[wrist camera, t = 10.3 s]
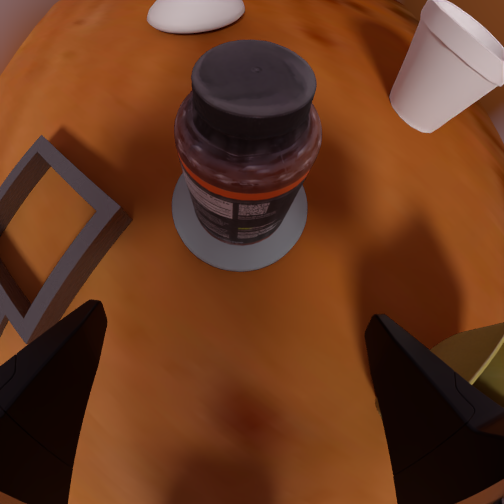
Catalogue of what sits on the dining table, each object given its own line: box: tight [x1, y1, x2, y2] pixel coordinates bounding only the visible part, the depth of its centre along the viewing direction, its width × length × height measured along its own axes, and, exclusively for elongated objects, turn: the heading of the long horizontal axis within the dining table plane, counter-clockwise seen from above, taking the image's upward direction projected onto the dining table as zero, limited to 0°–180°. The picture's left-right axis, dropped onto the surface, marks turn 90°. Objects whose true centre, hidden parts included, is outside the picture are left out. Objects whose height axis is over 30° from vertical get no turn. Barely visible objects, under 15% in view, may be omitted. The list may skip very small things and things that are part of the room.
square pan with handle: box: [0, 135, 132, 344], centre depth 15 cm, size 19×11×2 cm, turn 143°
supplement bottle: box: [174, 40, 322, 246], centre depth 13 cm, size 6×6×11 cm
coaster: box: [172, 173, 307, 272], centre depth 19 cm, size 9×9×1 cm
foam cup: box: [389, 0, 504, 133], centre depth 17 cm, size 10×9×13 cm
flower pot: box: [375, 322, 504, 418], centre depth 13 cm, size 9×9×9 cm
